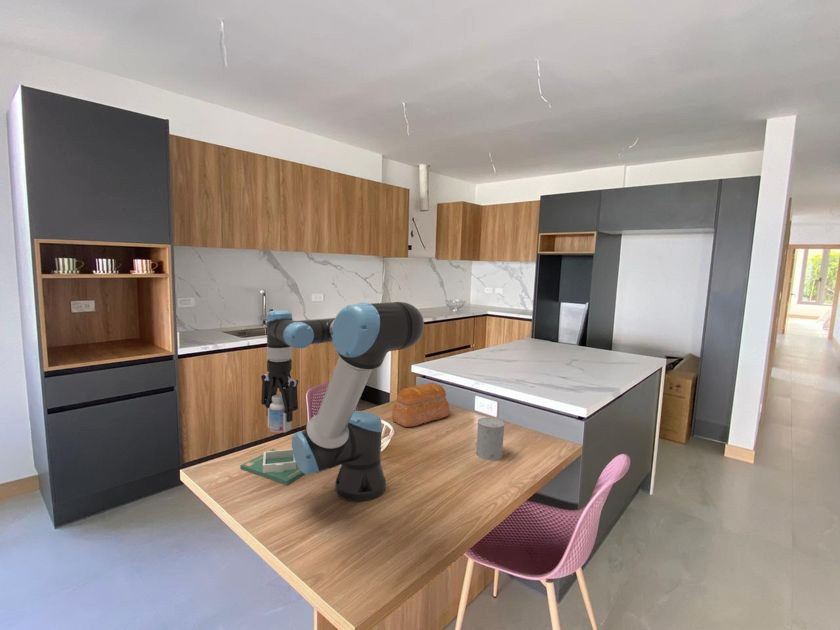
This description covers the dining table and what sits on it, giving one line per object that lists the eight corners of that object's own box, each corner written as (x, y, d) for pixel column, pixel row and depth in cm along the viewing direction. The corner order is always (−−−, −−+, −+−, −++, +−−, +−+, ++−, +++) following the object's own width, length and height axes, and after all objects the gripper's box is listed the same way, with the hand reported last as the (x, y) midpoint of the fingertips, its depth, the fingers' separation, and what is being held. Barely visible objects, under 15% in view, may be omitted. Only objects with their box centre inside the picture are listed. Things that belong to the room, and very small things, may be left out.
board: (317, 466, 141) (317, 455, 140) (286, 485, 128) (286, 473, 128) (273, 452, 150) (273, 442, 149) (240, 468, 137) (240, 457, 137)
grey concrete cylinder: (473, 457, 152) (474, 424, 151) (479, 446, 161) (481, 415, 160) (499, 462, 149) (501, 429, 147) (504, 452, 157) (506, 420, 156)
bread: (452, 417, 191) (454, 384, 190) (407, 430, 174) (408, 394, 173) (432, 408, 201) (433, 377, 200) (388, 420, 184) (389, 386, 183)
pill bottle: (283, 434, 134) (283, 400, 133) (265, 432, 135) (265, 398, 134) (292, 427, 140) (292, 394, 139) (275, 425, 141) (275, 392, 140)
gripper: (310, 361, 134) (310, 431, 137) (266, 353, 142) (266, 419, 145) (293, 365, 127) (293, 439, 130) (248, 357, 136) (249, 426, 138)
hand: (279, 428), depth 137 cm, fingers closed on pill bottle, 6 cm apart
